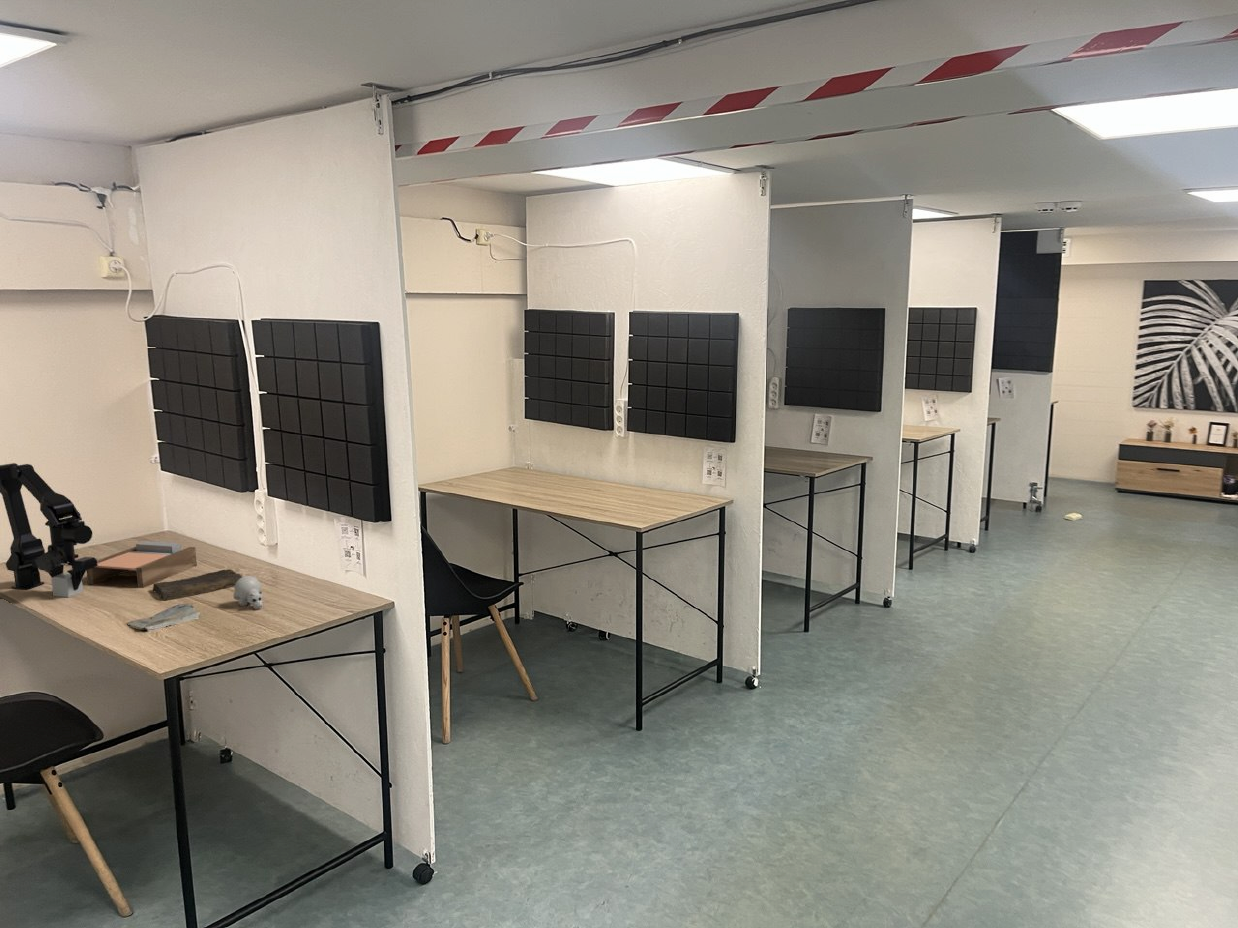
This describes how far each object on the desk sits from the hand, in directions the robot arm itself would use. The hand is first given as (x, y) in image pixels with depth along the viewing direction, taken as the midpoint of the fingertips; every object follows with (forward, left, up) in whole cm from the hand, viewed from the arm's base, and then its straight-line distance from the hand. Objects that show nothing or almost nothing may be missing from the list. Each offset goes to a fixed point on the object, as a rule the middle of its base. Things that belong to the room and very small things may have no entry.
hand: (67, 589), depth 265 cm
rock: (+36, +14, -2) cm, 38 cm away
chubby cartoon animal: (+62, +2, -2) cm, 62 cm away
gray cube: (0, 0, -2) cm, 2 cm away
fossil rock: (+45, -13, -2) cm, 47 cm away
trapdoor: (+8, +21, +2) cm, 23 cm away
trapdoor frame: (+8, +23, -2) cm, 24 cm away
